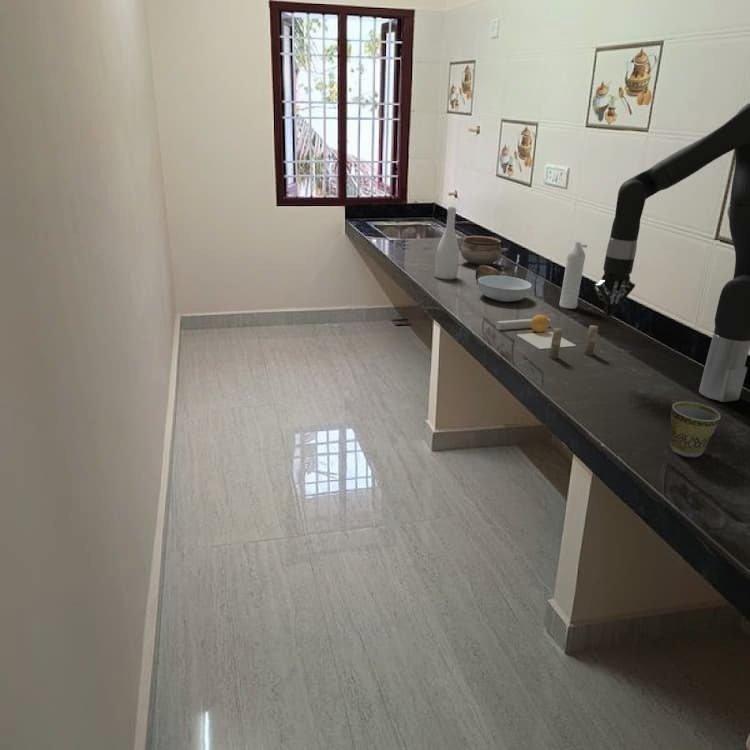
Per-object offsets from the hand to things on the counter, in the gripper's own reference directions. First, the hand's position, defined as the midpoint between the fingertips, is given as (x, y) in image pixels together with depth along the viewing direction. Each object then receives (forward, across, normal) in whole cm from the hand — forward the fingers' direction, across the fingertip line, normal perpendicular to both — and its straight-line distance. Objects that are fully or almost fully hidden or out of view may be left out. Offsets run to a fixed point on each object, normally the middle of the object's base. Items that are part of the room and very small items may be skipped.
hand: (608, 315), depth 190 cm
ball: (+14, +3, +35) cm, 38 cm away
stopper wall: (+17, 0, +41) cm, 44 cm away
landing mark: (+17, 0, +27) cm, 32 cm away
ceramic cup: (+17, -10, -46) cm, 50 cm away
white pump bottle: (+17, +32, +59) cm, 69 cm away
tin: (+17, +15, +93) cm, 96 cm away
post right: (+17, +7, +13) cm, 22 cm away
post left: (+17, -6, +13) cm, 22 cm away
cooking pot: (+17, +31, +129) cm, 134 cm away
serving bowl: (+17, +12, +75) cm, 78 cm away
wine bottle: (+17, +4, +110) cm, 111 cm away
